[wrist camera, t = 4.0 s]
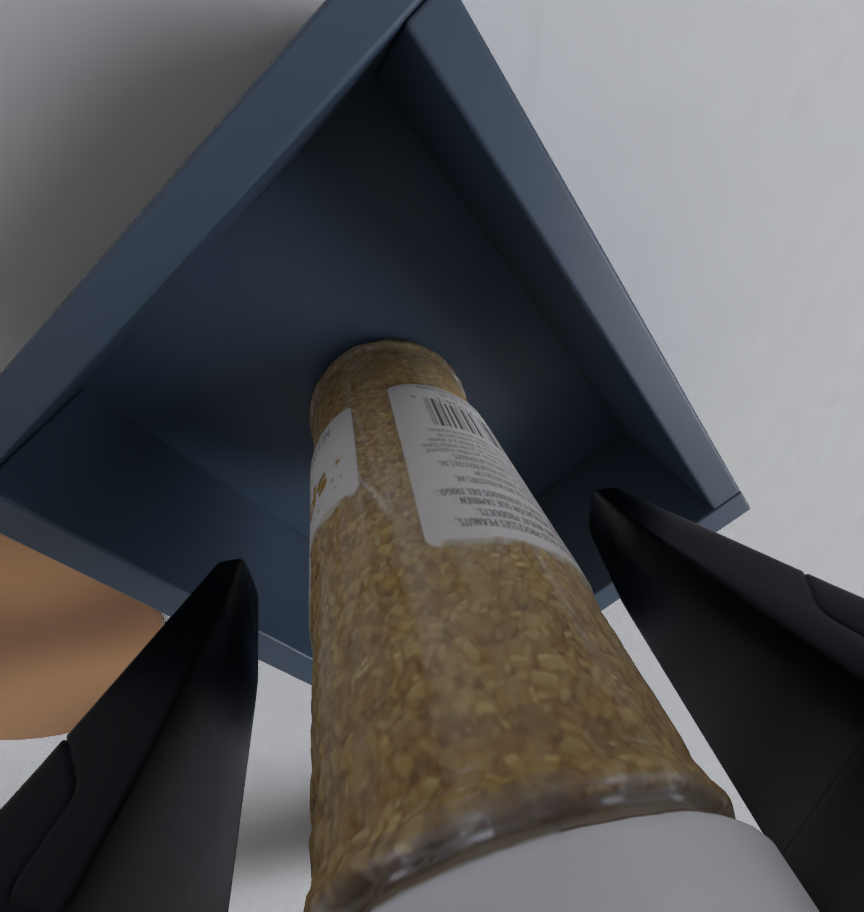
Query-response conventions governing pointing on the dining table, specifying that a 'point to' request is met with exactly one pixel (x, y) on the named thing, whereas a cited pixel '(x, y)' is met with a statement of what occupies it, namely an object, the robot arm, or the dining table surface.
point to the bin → (337, 326)
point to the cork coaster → (60, 641)
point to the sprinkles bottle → (484, 687)
